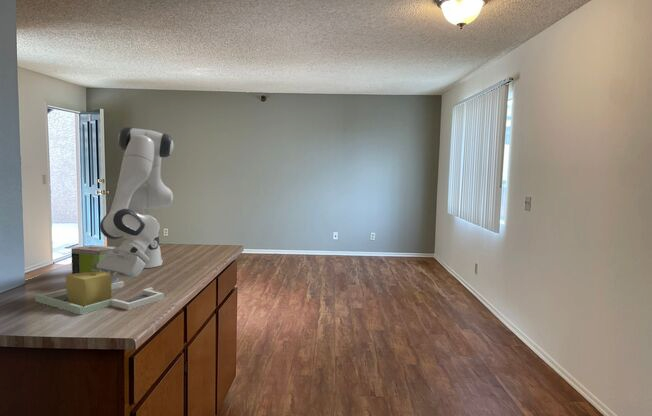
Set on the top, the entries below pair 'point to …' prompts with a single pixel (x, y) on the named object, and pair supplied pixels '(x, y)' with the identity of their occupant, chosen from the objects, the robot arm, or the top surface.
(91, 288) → the cheese
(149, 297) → the frame
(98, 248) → the tea box
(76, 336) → the top surface
